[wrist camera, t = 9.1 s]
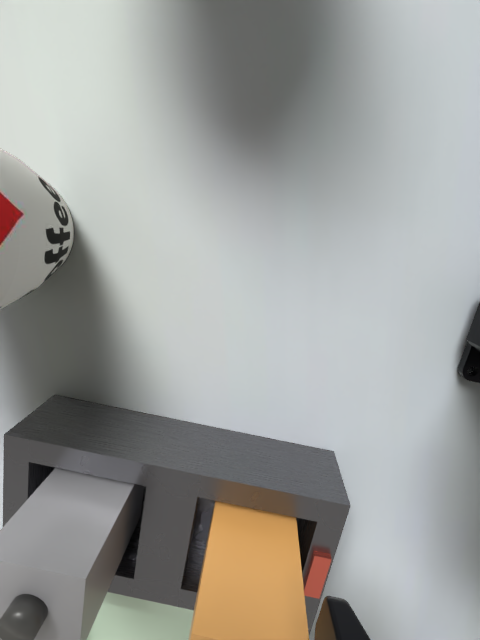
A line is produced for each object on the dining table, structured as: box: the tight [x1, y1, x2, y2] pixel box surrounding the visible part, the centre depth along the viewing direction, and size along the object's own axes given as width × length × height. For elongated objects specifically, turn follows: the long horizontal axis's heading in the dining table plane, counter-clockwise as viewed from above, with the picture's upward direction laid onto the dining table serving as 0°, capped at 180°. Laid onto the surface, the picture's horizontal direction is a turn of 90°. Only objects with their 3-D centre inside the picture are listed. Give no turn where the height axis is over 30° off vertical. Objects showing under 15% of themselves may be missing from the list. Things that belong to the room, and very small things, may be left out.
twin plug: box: [0, 468, 144, 640], centre depth 16 cm, size 4×4×8 cm
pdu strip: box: [3, 395, 350, 634], centre depth 19 cm, size 16×8×4 cm, turn 80°
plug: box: [188, 501, 309, 640], centre depth 16 cm, size 4×4×9 cm
